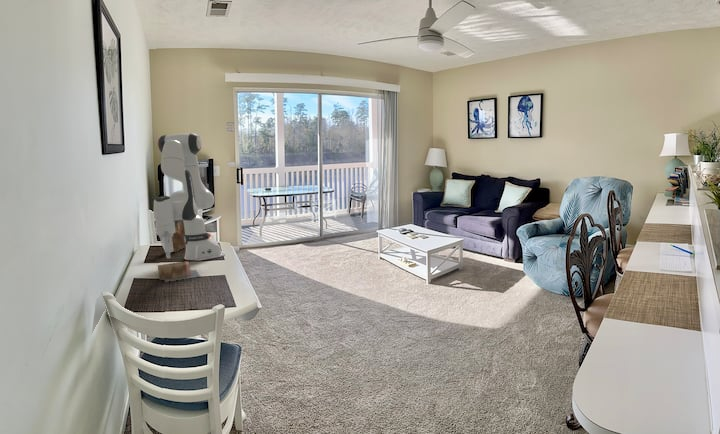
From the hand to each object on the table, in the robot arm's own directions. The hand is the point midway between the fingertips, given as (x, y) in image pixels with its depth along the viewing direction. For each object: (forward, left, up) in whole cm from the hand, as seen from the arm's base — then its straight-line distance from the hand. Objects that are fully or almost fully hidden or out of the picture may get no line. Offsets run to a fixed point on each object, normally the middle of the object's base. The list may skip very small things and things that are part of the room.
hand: (168, 257), depth 228 cm
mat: (-5, 0, -10) cm, 11 cm away
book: (-10, -64, -10) cm, 66 cm away
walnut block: (+5, 0, -7) cm, 8 cm away
